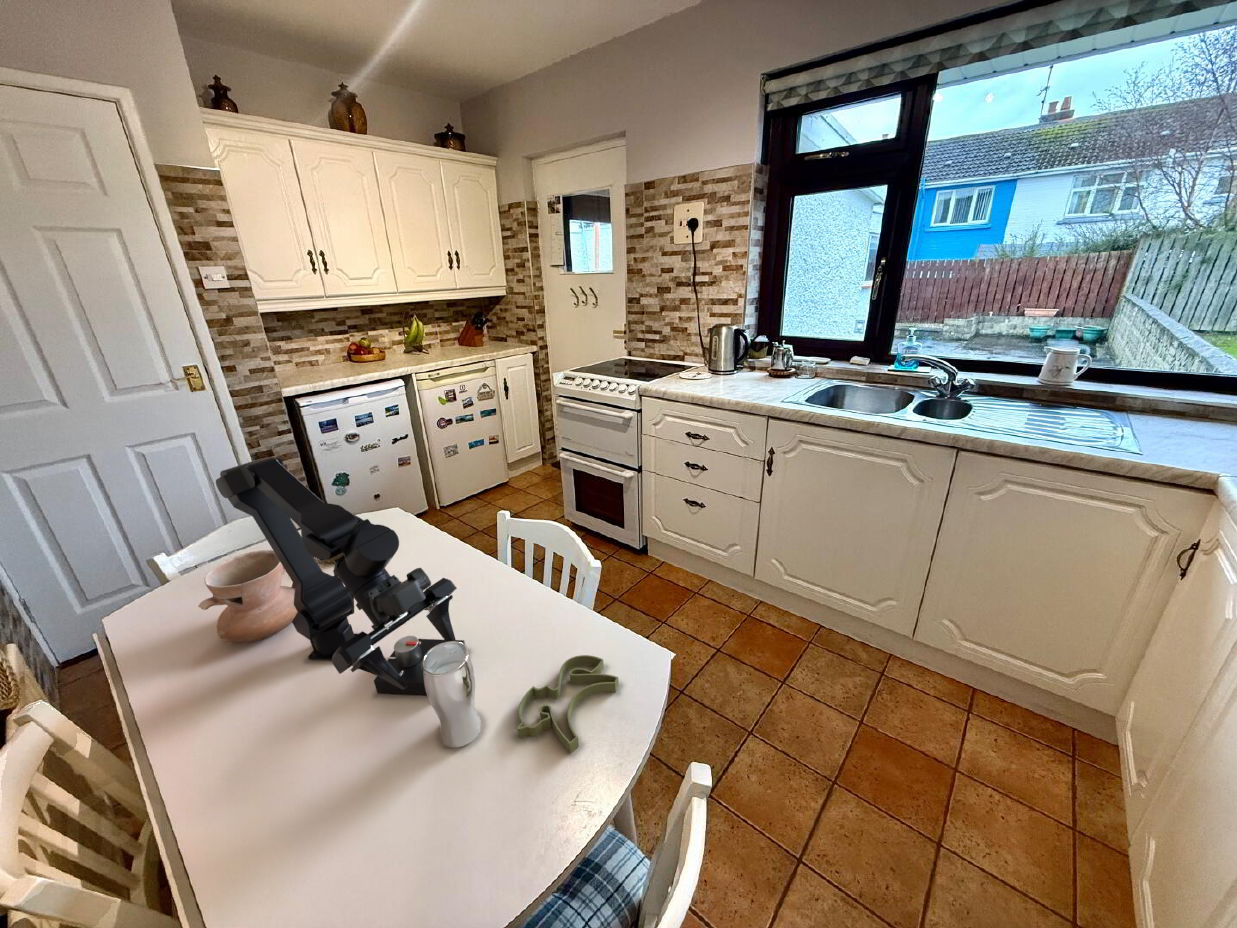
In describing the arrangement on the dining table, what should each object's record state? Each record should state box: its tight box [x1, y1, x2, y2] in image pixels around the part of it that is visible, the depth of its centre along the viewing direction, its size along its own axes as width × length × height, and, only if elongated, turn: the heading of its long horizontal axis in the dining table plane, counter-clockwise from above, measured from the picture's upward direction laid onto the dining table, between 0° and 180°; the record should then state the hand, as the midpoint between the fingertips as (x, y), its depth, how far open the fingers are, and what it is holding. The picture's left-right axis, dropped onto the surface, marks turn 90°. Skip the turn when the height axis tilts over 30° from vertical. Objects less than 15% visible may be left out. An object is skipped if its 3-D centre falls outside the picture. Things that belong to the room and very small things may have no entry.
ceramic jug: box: [197, 549, 297, 644], centre depth 97 cm, size 18×14×14 cm
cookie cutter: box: [517, 654, 620, 754], centre depth 80 cm, size 18×12×2 cm, turn 149°
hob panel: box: [373, 638, 466, 697], centre depth 86 cm, size 12×10×3 cm
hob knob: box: [393, 635, 422, 668], centre depth 85 cm, size 4×4×4 cm
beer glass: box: [421, 641, 482, 749], centre depth 73 cm, size 7×7×15 cm
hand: (431, 666), depth 73 cm, fingers open, 9 cm apart
